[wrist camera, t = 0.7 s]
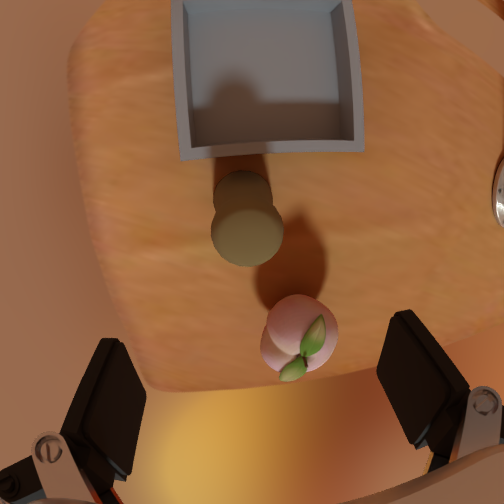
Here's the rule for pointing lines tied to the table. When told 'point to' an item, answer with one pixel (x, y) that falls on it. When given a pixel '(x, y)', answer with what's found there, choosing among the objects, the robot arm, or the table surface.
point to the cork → (245, 220)
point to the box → (266, 77)
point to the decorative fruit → (298, 336)
